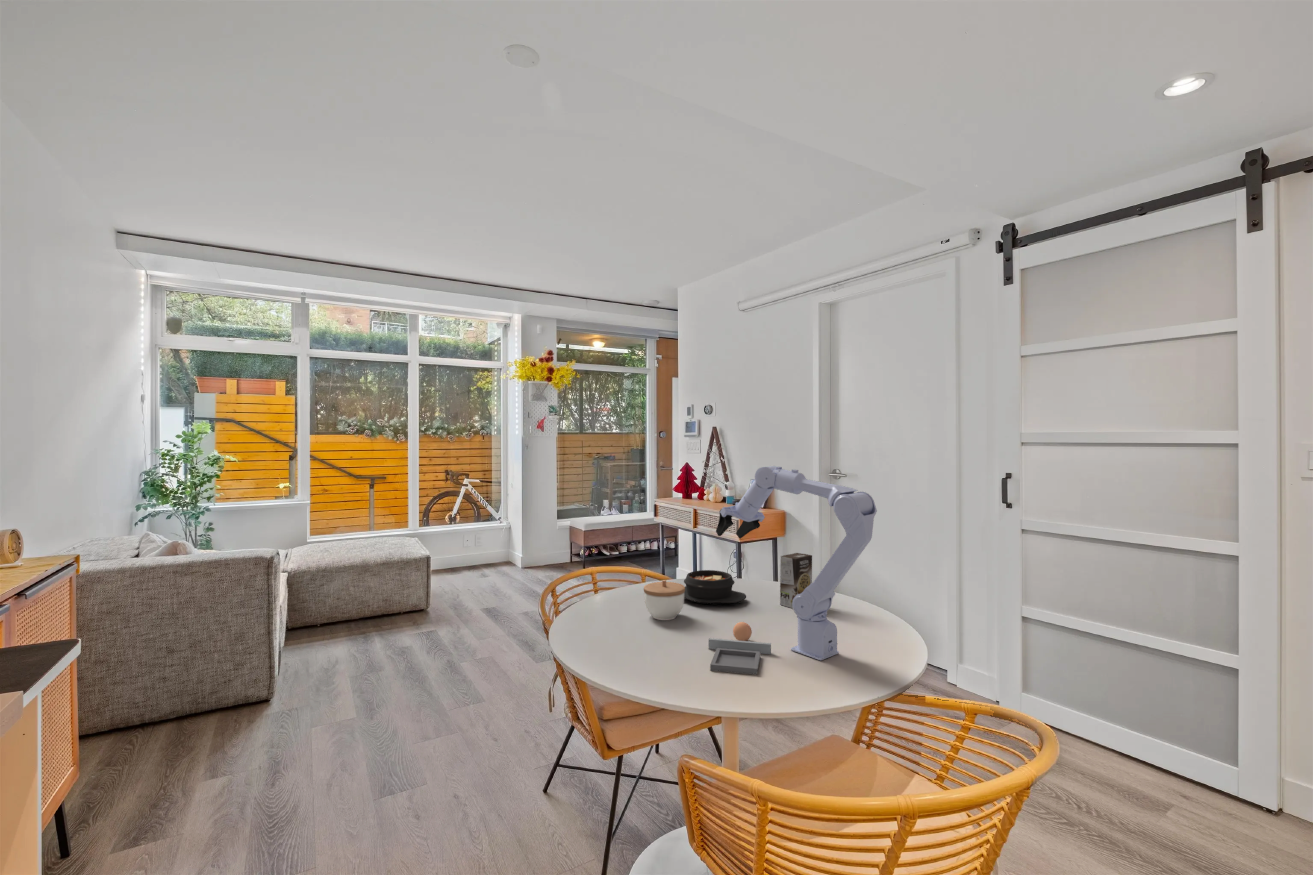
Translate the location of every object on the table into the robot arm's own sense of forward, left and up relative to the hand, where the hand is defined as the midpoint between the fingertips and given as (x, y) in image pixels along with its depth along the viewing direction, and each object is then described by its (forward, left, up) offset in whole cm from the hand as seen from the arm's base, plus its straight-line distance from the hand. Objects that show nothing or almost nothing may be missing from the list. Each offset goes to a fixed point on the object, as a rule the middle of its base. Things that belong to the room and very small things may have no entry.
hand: (728, 534), depth 173 cm
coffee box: (+1, -32, -27) cm, 42 cm away
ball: (-11, +6, -27) cm, 29 cm away
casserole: (+23, -14, -27) cm, 38 cm away
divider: (-15, +12, -27) cm, 33 cm away
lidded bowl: (+19, +9, -27) cm, 34 cm away
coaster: (-20, +19, -27) cm, 38 cm away
